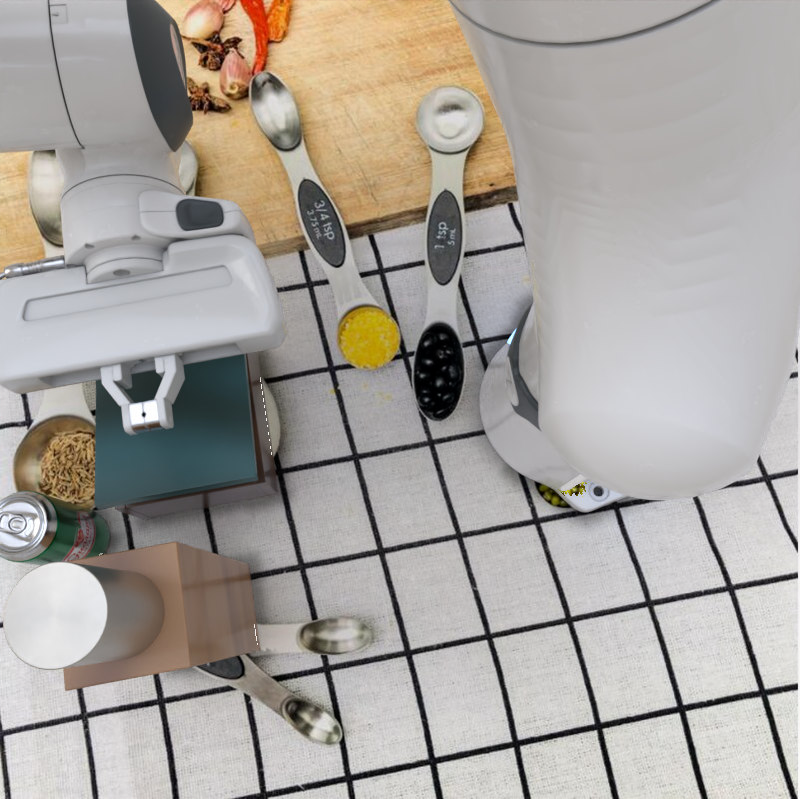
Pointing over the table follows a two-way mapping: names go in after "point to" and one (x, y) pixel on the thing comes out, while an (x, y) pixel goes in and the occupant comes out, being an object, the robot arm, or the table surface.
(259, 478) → the chest
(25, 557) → the soda can
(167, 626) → the stand
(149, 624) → the tin
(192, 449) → the hatch
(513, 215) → the table surface
